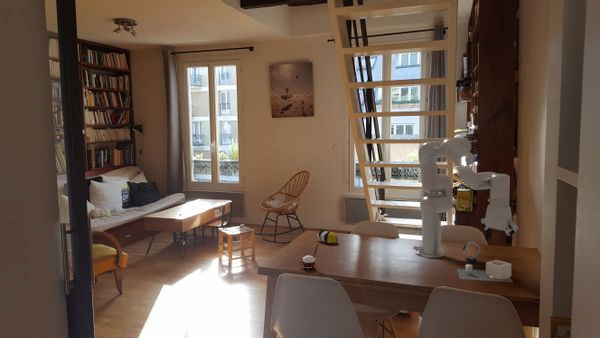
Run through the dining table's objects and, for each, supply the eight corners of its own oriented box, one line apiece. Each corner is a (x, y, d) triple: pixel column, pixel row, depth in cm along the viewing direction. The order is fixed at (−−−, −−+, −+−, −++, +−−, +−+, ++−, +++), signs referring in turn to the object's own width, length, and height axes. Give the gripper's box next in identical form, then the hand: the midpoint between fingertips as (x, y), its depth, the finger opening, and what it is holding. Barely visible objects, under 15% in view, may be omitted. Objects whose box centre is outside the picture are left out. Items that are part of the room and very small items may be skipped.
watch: (461, 262, 209) (461, 240, 208) (478, 262, 208) (478, 240, 207) (463, 265, 204) (463, 243, 203) (480, 266, 202) (481, 243, 202)
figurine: (322, 239, 262) (322, 226, 262) (341, 243, 252) (340, 229, 251) (313, 241, 257) (313, 228, 256) (331, 246, 246) (331, 232, 245)
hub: (488, 278, 181) (489, 264, 181) (485, 272, 190) (485, 258, 189) (511, 280, 179) (512, 265, 178) (507, 273, 187) (507, 259, 187)
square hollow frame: (500, 279, 179) (500, 266, 179) (485, 274, 186) (485, 262, 185) (511, 276, 183) (511, 263, 182) (496, 271, 189) (496, 259, 189)
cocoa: (298, 270, 205) (296, 246, 204) (303, 265, 211) (301, 242, 210) (317, 270, 202) (315, 246, 201) (321, 266, 208) (319, 242, 206)
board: (459, 282, 182) (459, 269, 182) (456, 271, 195) (456, 260, 195) (513, 285, 176) (513, 272, 176) (506, 274, 190) (506, 262, 189)
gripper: (476, 200, 187) (475, 238, 189) (512, 206, 172) (511, 247, 174) (487, 199, 191) (486, 236, 193) (523, 204, 176) (522, 245, 177)
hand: (498, 241), depth 183 cm, fingers open, 9 cm apart
